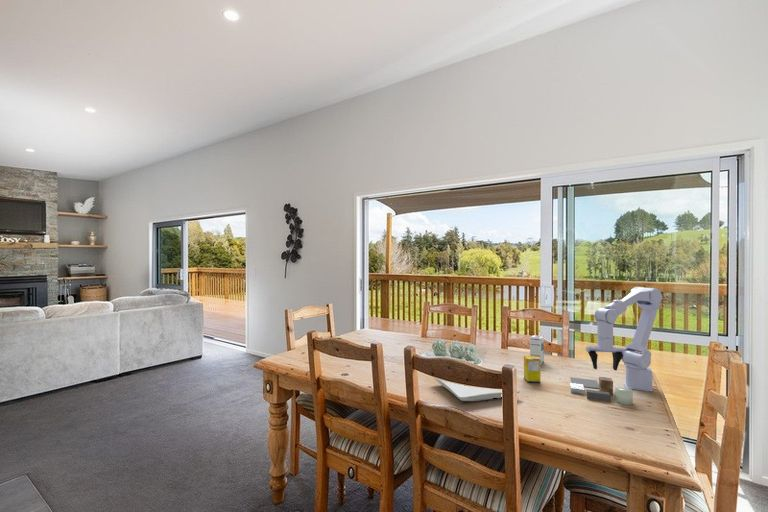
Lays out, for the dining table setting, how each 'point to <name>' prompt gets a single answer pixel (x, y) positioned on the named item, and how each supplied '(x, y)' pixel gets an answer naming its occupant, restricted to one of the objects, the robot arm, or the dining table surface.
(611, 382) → the walnut block
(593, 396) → the charcoal rubber bar
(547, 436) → the dining table surface
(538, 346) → the syrup box
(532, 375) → the supplement box
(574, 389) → the grey topped wooden block
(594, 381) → the slate coaster
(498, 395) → the square plate
